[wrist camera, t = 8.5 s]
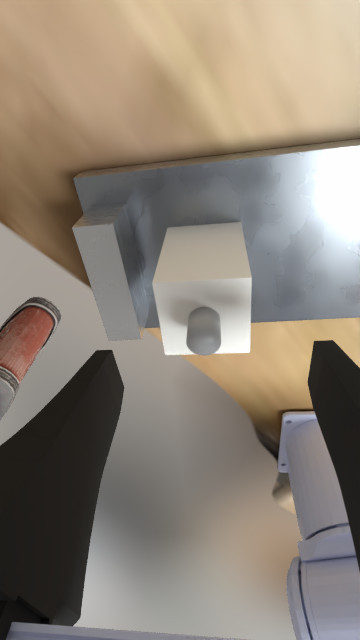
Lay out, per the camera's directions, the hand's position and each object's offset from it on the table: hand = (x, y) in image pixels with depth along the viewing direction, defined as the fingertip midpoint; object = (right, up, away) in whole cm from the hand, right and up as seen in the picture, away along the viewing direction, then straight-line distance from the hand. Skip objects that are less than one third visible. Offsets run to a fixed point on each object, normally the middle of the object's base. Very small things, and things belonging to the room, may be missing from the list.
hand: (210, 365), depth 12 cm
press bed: (+7, +7, +7) cm, 12 cm away
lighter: (-13, +1, +14) cm, 19 cm away
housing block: (0, +5, +7) cm, 9 cm away
